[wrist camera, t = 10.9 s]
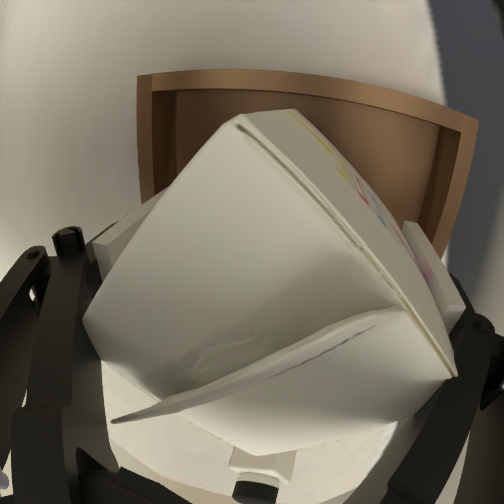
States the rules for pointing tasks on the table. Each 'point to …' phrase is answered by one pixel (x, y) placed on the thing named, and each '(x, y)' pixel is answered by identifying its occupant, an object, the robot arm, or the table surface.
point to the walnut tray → (328, 123)
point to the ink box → (272, 296)
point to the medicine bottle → (260, 475)
